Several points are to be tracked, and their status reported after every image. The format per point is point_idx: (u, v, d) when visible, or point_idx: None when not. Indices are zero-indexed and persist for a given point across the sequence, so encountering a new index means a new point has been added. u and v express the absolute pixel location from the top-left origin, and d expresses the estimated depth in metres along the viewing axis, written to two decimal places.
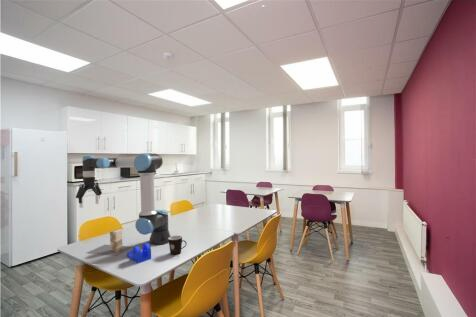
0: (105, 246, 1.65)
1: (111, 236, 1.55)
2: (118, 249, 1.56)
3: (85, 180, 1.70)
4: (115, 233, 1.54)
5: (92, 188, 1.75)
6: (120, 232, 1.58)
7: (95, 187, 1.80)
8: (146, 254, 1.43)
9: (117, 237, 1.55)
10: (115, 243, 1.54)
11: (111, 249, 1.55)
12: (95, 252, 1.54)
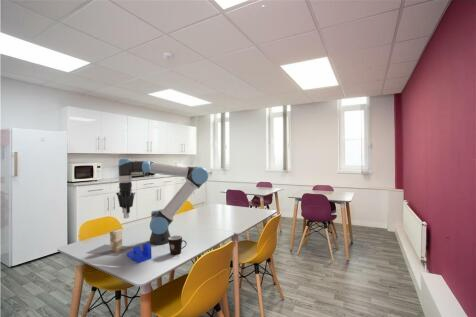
0: (105, 246, 1.65)
1: (111, 236, 1.55)
2: (118, 249, 1.56)
3: None
4: (115, 233, 1.54)
5: (126, 195, 1.54)
6: (120, 232, 1.58)
7: None
8: (146, 254, 1.43)
9: (117, 237, 1.55)
10: (115, 243, 1.54)
11: (111, 249, 1.55)
12: (95, 252, 1.54)
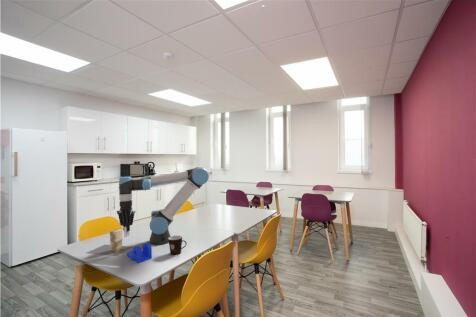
0: (105, 246, 1.65)
1: (111, 236, 1.55)
2: (118, 249, 1.56)
3: None
4: (115, 233, 1.54)
5: (127, 214, 1.54)
6: (120, 232, 1.58)
7: None
8: (147, 254, 1.43)
9: (117, 237, 1.55)
10: (115, 243, 1.54)
11: (111, 249, 1.55)
12: (95, 252, 1.54)
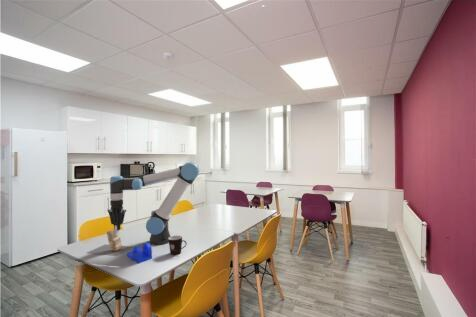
0: (105, 246, 1.65)
1: (108, 236, 1.56)
2: (118, 247, 1.56)
3: None
4: (112, 232, 1.55)
5: (118, 213, 1.55)
6: None
7: None
8: (147, 254, 1.43)
9: (114, 236, 1.56)
10: (114, 241, 1.55)
11: (111, 249, 1.55)
12: (95, 252, 1.54)
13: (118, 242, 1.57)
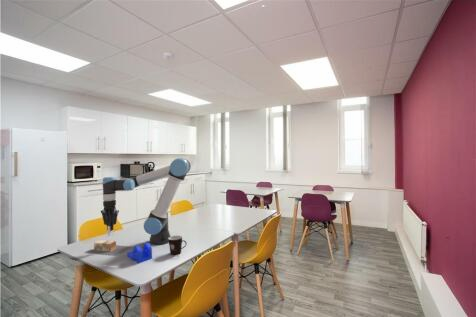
0: None
1: (97, 248, 1.58)
2: (110, 242, 1.57)
3: None
4: (95, 243, 1.58)
5: (110, 213, 1.57)
6: (100, 240, 1.62)
7: None
8: (147, 254, 1.43)
9: (99, 242, 1.59)
10: (103, 244, 1.57)
11: (108, 249, 1.56)
12: (95, 252, 1.54)
13: (108, 242, 1.59)
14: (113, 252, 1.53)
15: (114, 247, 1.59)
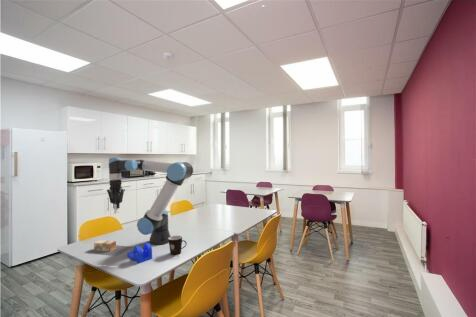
0: None
1: (97, 248, 1.58)
2: (110, 242, 1.57)
3: None
4: (95, 243, 1.58)
5: (117, 192, 1.65)
6: (100, 240, 1.62)
7: None
8: (147, 254, 1.43)
9: (99, 242, 1.59)
10: (103, 244, 1.57)
11: (108, 249, 1.56)
12: (95, 252, 1.54)
13: (108, 242, 1.59)
14: (113, 252, 1.53)
15: (114, 247, 1.59)
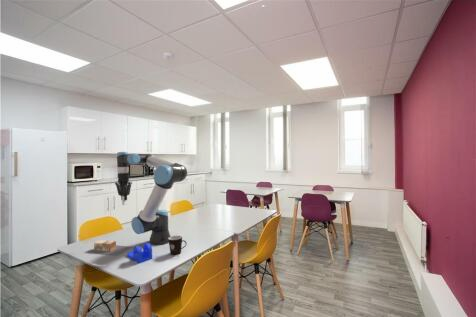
0: None
1: (97, 248, 1.58)
2: (110, 242, 1.57)
3: None
4: (95, 243, 1.58)
5: (124, 184, 1.73)
6: (100, 240, 1.62)
7: None
8: (147, 254, 1.43)
9: (99, 242, 1.59)
10: (103, 244, 1.57)
11: (108, 249, 1.56)
12: (95, 252, 1.54)
13: (108, 242, 1.59)
14: (113, 252, 1.53)
15: (114, 247, 1.59)
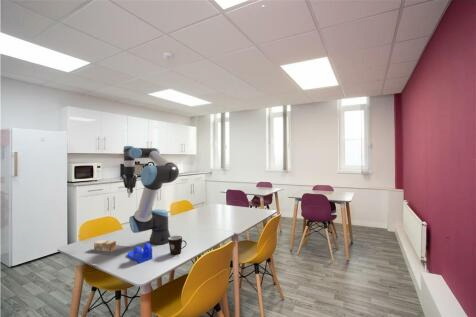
0: None
1: (97, 248, 1.58)
2: (110, 242, 1.57)
3: None
4: (95, 243, 1.58)
5: (130, 177, 1.79)
6: (100, 240, 1.62)
7: None
8: (147, 254, 1.43)
9: (99, 242, 1.59)
10: (103, 244, 1.57)
11: (108, 249, 1.56)
12: (95, 252, 1.54)
13: (108, 242, 1.59)
14: (113, 252, 1.53)
15: (114, 247, 1.59)
